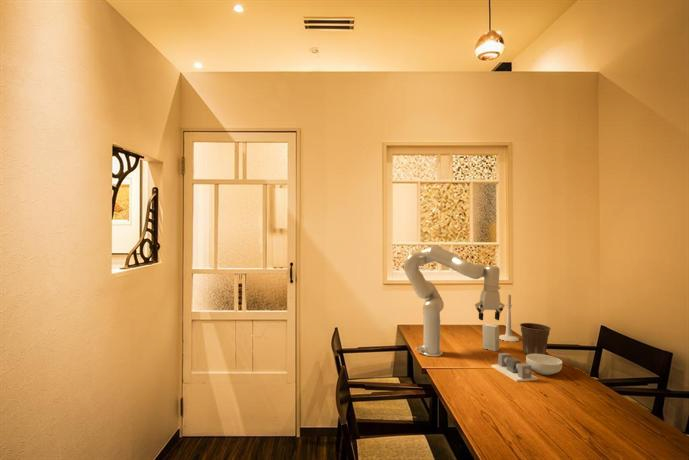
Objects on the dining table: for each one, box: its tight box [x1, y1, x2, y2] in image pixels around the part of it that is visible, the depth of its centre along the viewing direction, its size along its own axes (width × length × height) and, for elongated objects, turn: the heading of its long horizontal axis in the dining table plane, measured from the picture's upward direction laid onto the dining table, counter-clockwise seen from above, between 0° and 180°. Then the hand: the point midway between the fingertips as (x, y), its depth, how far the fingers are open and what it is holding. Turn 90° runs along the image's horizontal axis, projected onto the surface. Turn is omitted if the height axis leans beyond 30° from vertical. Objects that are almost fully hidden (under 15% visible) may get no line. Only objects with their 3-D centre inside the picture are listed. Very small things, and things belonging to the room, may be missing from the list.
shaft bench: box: [491, 352, 539, 383], centre depth 196 cm, size 12×20×7 cm, turn 13°
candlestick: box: [499, 293, 520, 343], centre depth 255 cm, size 13×13×30 cm
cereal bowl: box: [525, 354, 563, 376], centre depth 198 cm, size 17×17×7 cm
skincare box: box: [482, 322, 501, 352], centre depth 234 cm, size 8×6×15 cm
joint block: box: [507, 357, 522, 373], centre depth 196 cm, size 7×4×6 cm
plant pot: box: [519, 322, 552, 355], centre depth 227 cm, size 16×16×16 cm
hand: (488, 319), depth 211 cm, fingers open, 9 cm apart
